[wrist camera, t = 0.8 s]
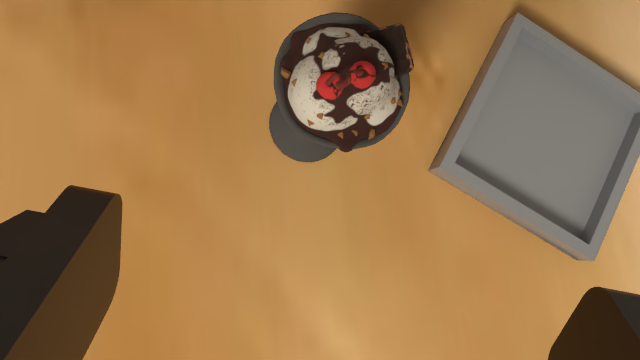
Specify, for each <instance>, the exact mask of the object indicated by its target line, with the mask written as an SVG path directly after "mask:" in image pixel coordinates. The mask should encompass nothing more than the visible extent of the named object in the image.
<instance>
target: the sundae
mask: <svg viewBox="0 0 640 360" xmlns="http://www.w3.org/2000/svg"><path fill="white" fill-rule="evenodd" d="M413 68H414V64H413V59H412V54H411V49H410V46H409V43H408V40H407V38H406V33H405V29H404V26H403V25H401V24H396V25H391V26H387V27H383V28H378V27H377V26H376V25H374V24H373V23H371V22H370V21H368V20H366V19H364V18H362V17H360V16H357V15H352V14H348V13H329V14H325V15H320V16H317V17H314V18H312V19H309V20H307V21H306V22H304V23H302V24H301V25H299V26H298V27H297V28H295V29H294V30H293V31H292V32H291V33H290V34H289V35H288V36H287V37H286V38H285V40H284V41H283V43H282V45H281V47H280V49H279V52H278V54H277V57H276V60H275V68H274V89H275V93H276V98H277V102H276V104H275V105H274V107H273V109H272V112H271V114H270V121H269V129H270V132H271V136H272V138H273V141H274V143H275V144H276V146H277V147H278V148H279V149H280V150H281V151H282V152H283V153H284V154H285V155H287V156H288V157H290V158H292V159H294V160H297V161H302V162H315V161H319V160H321V159H324V158H326V157H327V156H329V155H330V154H331V153H332V152H333V151H334V150H335V149H336V148H339V149H340V150H341V151H343V152H349V151H351V150H352V149H357V148H362V147H367V146H370V145H373V144H376V143H377V142H379V141H380V140H382V139H384V138H385V137H386V136H387V135H388V134H389V133H390V132H391V131H392V130H393V129H394V128H395V127H396V125H397V124H398V123H399V121H400V119H401V117H402V115H403V113H404V111H405V108H406V106H407V103H408V100H409V91H410V79H409V72H410V71H411V70H412V69H413Z"/></svg>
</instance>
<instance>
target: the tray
mask: <svg viewBox="0 0 640 360" xmlns="http://www.w3.org/2000/svg"><path fill="white" fill-rule="evenodd" d="M639 155H640V93H639V92H638V91H636V90H635V89H633V88H632V87H630V86H629V85H627V84H626V83H624V82H623V81H621V80H620V79H618V78H617V77H615V76H614V75H612V74H611V73H609V72H608V71H606V70H605V69H603V68H601V67H600V66H598V65H597V64H595V63H594V62H592V61H591V60H589V59H588V58H586V57H585V56H583V55H582V54H580V53H579V52H577V51H576V50H574V49H573V48H571V47H570V46H568V45H567V44H565V43H564V42H562V41H561V40H559V39H558V38H556V37H555V36H553V35H551V34H550V33H548V32H547V31H545V30H544V29H542V28H541V27H539V26H538V25H536V24H535V23H533V22H532V21H530V20H529V19H527V18H526V17H524V16H523V15H521V14H520V13H516V14H515V15H514V16H512V17H511V18H510V19H508V20H507V21H506V22H504V24H503V26H502V28H501V30H500V32H499V34H498V36H497V37H496V39H495V41H494V43H493V45H492V47H491V49H490V51H489V53H488V55H487V57H486V59H485V61H484V63H483V65H482V67H481V69H480V71H479V73H478V75H477V77H476V79H475V80H474V82H473V84H472V86H471V88H470V90H469V92H468V94H467V96H466V98H465V100H464V102H463V104H462V106H461V108H460V110H459V112H458V114H457V116H456V118H455V120H454V122H453V124H452V125H451V127H450V129H449V131H448V133H447V135H446V137H445V139H444V141H443V143H442V145H441V147H440V149H439V151H438V153H437V155H436V157H435V159H434V161H433V163H432V165H431V167H430V169H429V170H428V171H430V172H432V173H433V174H435V175H437V176H438V177H440V178H442V179H443V180H445V181H446V182H448V183H450V184H451V185H453V186H455V187H456V188H458V189H460V190H461V191H463V192H465V193H466V194H468V195H470V196H471V197H473V198H475V199H476V200H478V201H480V202H481V203H483V204H485V205H486V206H488V207H490V208H491V209H493V210H494V211H496V212H498V213H499V214H501V215H503V216H504V217H506V218H508V219H509V220H511V221H513V222H514V223H516V224H518V225H519V226H521V227H523V228H524V229H526V230H528V231H529V232H531V233H533V234H534V235H536V236H538V237H539V238H541V239H543V240H544V241H546V242H547V243H549V244H551V245H552V246H554V247H556V248H557V249H559V250H561V251H562V252H564V253H566V254H567V255H569V256H571V257H572V258H574V259H576V260H584V261H595V258H596V256H597V253H598V251H599V249H600V246H601V244H602V242H603V239H604V237H605V235H606V232H607V230H608V228H609V225H610V223H611V221H612V218H613V216H614V213H615V211H616V209H617V206H618V204H619V202H620V199H621V197H622V195H623V192H624V190H625V188H626V185H627V183H628V180H629V178H630V176H631V173H632V171H633V169H634V166H635V164H636V162H637V159H638V157H639Z"/></svg>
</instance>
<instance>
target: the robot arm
mask: <svg viewBox="0 0 640 360" xmlns="http://www.w3.org/2000/svg"><path fill="white" fill-rule="evenodd" d="M121 224H122V199H121V196H120V195H119V194H115V193H110V192H105V191H99V190H94V189H89V188H84V187H78V186H73V185H71V186H68V187H67V188H66V189H65V190H64V191H63V192H62V193H61V195H60V196H59V197H58V198H57V199H56V200H55V202H54V203H53V204H52V205H51V206H50V208H49V209H48V210H47V211H46V212H45V213H41V212H36V211H30V210H26V211H24V212H22V213H20V214H18V215H16V216H14V217H12V218H10V219H9V220H7V221H5V222H3V223H1V224H0V360H82V359H83V357H84V356H85V354H86V352H87V350H88V348H89V346H90V344H91V342H92V340H93V338H94V336H95V334H96V332H97V330H98V328H99V326H100V324H101V322H102V320H103V318H104V316H105V314H106V312H107V310H108V309H109V306H110V304H111V302H112V299H113V296H114V293H115V290H116V286H117V282H118V277H119V271H120V250H121ZM548 360H640V295H638V294H633V293H628V292H623V291H617V290H612V289H607V288H602V287H593V288H591V289H589V290H588V291H587V292H586V293H585V294H584V296H583V297H582V299H581V300H580V302H579V304H578V305H577V307H576V308H575V310H574V312H573V313H572V315H571V317H570V318H569V320H568V321H567V323H566V325H565V326H564V328H563V329H562V331H561V333H560V334H559V336H558V337H557V339H556V341H555V342H554V344H553V346H552V348H551V350H550V353H549V357H548Z"/></svg>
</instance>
